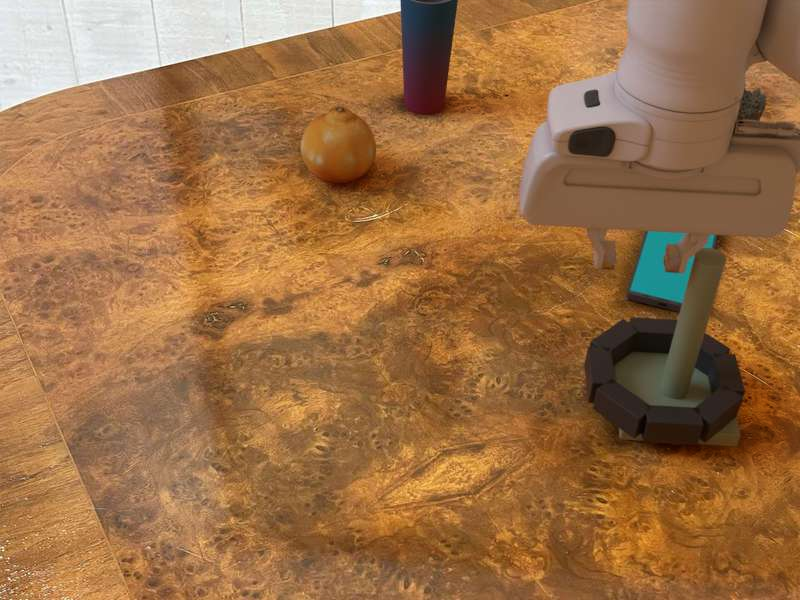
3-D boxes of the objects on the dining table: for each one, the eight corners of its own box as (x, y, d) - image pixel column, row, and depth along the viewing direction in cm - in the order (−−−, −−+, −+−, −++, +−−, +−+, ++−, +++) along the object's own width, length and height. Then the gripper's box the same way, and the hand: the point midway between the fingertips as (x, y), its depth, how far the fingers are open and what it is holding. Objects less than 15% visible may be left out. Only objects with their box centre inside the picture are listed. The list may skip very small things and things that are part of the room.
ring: (720, 341, 99) (726, 322, 97) (748, 448, 89) (755, 428, 88) (580, 334, 99) (584, 314, 98) (592, 439, 90) (596, 419, 88)
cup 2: (672, 152, 126) (686, 92, 121) (710, 131, 130) (725, 72, 125) (725, 179, 122) (742, 119, 117) (762, 157, 126) (780, 97, 120)
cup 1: (459, 97, 134) (467, -16, 124) (438, 123, 129) (445, 8, 120) (410, 85, 136) (414, -27, 126) (387, 110, 131) (390, -5, 122)
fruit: (354, 122, 125) (328, 84, 118) (399, 158, 120) (375, 119, 114) (305, 172, 124) (276, 136, 117) (349, 209, 120) (322, 174, 113)
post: (717, 365, 99) (761, 222, 88) (736, 447, 91) (788, 301, 80) (609, 358, 99) (640, 215, 88) (619, 439, 92) (655, 294, 81)
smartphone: (626, 292, 105) (652, 208, 116) (625, 298, 105) (650, 214, 116) (701, 311, 103) (721, 224, 114) (699, 317, 104) (719, 230, 114)
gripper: (807, 101, 78) (761, 249, 88) (529, 87, 79) (511, 235, 88) (828, 148, 74) (777, 299, 83) (532, 132, 74) (513, 284, 83)
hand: (638, 266), depth 85 cm, fingers open, 4 cm apart
